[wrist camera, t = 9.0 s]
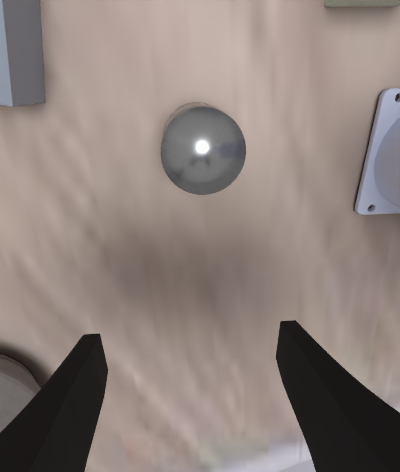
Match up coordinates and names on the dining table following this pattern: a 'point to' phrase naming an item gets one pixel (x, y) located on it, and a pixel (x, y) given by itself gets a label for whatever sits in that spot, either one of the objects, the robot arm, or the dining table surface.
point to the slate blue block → (21, 53)
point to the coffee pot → (14, 389)
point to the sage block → (360, 3)
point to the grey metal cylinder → (202, 149)
